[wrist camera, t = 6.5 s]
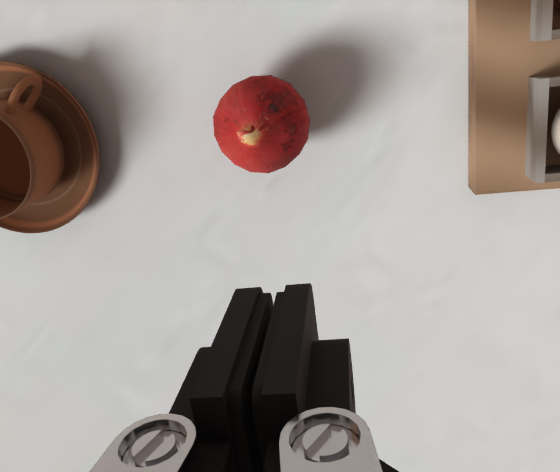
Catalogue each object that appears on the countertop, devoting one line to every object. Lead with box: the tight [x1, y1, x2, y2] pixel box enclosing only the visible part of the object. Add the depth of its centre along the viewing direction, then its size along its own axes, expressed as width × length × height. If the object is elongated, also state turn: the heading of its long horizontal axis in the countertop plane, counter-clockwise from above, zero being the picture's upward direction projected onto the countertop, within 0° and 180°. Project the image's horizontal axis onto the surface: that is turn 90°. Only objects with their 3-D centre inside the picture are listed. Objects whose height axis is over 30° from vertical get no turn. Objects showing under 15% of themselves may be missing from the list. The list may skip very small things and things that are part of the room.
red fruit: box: [213, 75, 310, 173], centre depth 32 cm, size 6×6×8 cm
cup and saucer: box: [0, 61, 100, 233], centre depth 36 cm, size 12×12×6 cm
